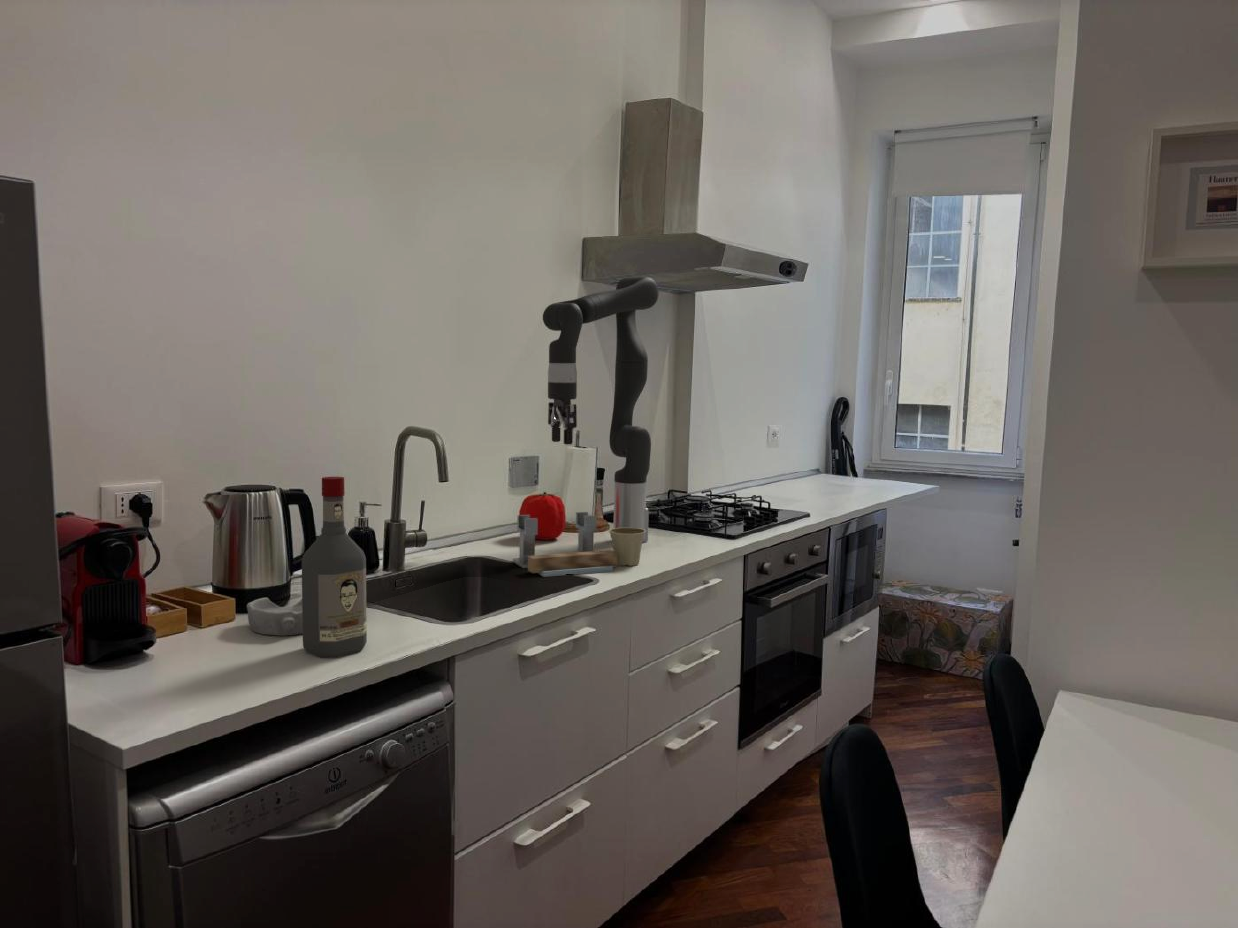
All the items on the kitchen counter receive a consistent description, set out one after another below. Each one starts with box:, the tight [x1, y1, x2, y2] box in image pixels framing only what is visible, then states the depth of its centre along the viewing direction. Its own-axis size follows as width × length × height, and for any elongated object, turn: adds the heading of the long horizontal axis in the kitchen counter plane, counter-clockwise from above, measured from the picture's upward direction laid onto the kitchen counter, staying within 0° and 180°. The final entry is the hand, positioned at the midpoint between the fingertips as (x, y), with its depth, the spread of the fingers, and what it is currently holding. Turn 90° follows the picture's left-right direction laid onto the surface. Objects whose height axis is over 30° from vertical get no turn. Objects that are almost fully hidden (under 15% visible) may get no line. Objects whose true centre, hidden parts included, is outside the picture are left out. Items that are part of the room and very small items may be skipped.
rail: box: [527, 549, 618, 574], centre depth 225 cm, size 22×4×4 cm, turn 115°
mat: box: [537, 566, 614, 578], centre depth 225 cm, size 18×8×1 cm, turn 115°
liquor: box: [301, 476, 368, 659], centre depth 158 cm, size 9×9×30 cm
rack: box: [512, 511, 598, 569], centre depth 234 cm, size 21×8×12 cm, turn 115°
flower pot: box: [608, 527, 646, 567], centre depth 234 cm, size 9×9×9 cm
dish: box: [246, 597, 303, 636], centre depth 172 cm, size 14×14×5 cm
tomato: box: [518, 491, 567, 541], centre depth 266 cm, size 16×14×14 cm
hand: (561, 443), depth 240 cm, fingers open, 8 cm apart
